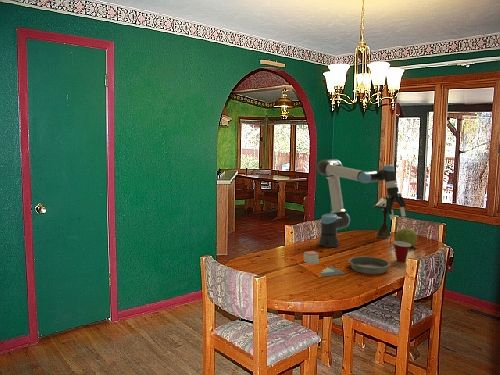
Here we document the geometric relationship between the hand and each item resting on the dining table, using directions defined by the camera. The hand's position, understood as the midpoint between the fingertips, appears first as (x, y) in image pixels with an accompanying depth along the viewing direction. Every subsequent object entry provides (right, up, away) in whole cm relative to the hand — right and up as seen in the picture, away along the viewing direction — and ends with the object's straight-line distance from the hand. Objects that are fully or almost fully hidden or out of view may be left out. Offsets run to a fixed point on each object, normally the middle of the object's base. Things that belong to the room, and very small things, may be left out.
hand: (398, 217), depth 289 cm
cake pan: (-28, -30, -26) cm, 48 cm away
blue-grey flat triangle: (-59, -29, -25) cm, 71 cm away
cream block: (-62, -28, -18) cm, 71 cm away
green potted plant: (+15, -23, +26) cm, 38 cm away
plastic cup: (-2, -28, -11) cm, 30 cm away
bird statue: (+7, -20, +54) cm, 58 cm away
